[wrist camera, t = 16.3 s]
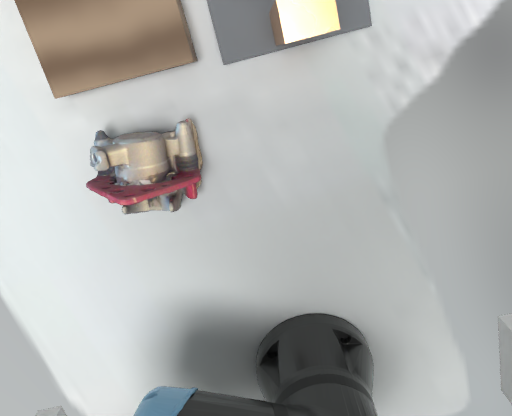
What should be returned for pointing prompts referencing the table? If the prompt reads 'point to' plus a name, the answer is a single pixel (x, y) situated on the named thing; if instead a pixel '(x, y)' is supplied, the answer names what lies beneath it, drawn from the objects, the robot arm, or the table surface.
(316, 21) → the square frame with handle
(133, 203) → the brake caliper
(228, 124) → the table surface
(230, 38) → the rubber mat
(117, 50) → the wooden peg stand
